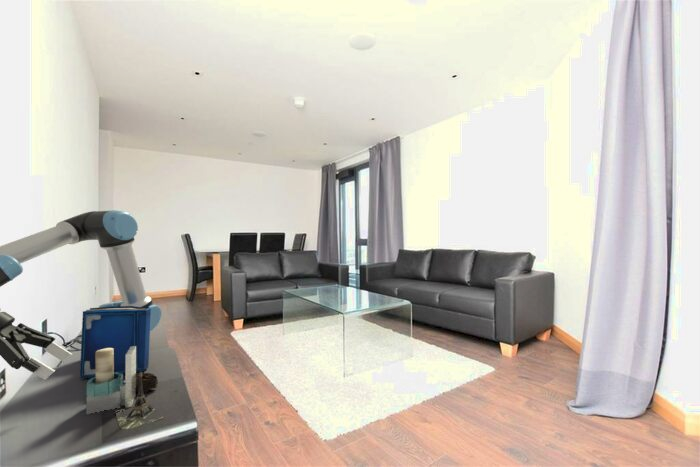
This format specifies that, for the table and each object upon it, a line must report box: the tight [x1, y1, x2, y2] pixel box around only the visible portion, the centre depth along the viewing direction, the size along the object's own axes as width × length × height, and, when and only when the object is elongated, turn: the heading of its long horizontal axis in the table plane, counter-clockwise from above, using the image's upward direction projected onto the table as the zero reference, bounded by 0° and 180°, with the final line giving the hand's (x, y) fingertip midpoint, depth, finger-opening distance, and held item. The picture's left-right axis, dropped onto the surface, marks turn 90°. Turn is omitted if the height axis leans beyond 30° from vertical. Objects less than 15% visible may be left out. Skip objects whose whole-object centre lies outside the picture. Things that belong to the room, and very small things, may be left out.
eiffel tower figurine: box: [113, 372, 165, 430], centre depth 91 cm, size 15×10×13 cm
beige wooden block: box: [95, 348, 114, 384], centre depth 96 cm, size 4×4×12 cm
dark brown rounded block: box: [123, 371, 159, 394], centre depth 105 cm, size 18×7×6 cm, turn 105°
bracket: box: [85, 346, 137, 415], centre depth 97 cm, size 8×11×16 cm
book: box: [79, 306, 151, 379], centre depth 120 cm, size 22×7×25 cm, turn 108°
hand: (59, 366), depth 92 cm, fingers open, 13 cm apart
